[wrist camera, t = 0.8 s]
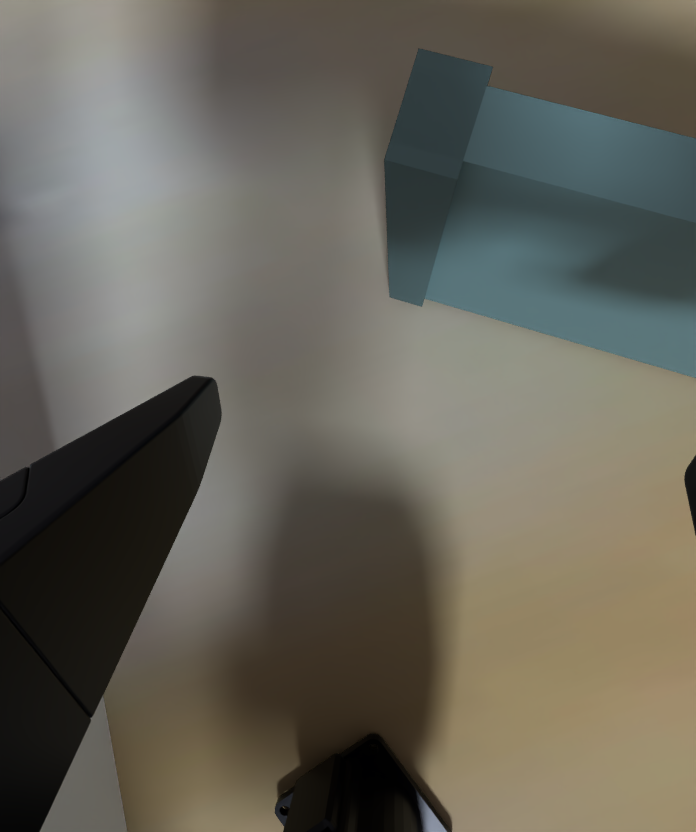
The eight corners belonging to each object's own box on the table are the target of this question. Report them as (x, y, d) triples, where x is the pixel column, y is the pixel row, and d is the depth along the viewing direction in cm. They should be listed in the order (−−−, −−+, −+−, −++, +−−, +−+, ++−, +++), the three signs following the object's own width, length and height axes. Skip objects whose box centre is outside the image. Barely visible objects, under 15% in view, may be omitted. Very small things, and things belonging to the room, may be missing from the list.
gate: (748, 346, 22) (1259, 257, 9) (730, 397, 22) (1209, 383, 9) (405, 248, 23) (418, 48, 10) (389, 297, 23) (384, 159, 10)
